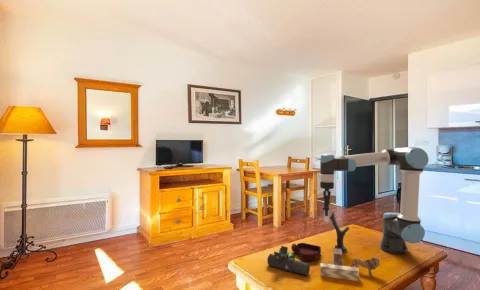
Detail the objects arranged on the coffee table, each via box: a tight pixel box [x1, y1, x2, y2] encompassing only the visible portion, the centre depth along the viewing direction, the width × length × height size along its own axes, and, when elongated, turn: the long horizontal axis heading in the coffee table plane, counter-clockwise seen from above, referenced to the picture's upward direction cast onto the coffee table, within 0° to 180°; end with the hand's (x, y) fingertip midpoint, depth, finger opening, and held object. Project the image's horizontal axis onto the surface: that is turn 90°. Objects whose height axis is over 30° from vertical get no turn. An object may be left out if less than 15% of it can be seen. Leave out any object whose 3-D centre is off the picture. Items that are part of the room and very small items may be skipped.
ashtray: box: [290, 242, 322, 263], centre depth 160 cm, size 18×16×5 cm
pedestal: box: [331, 247, 345, 266], centre depth 146 cm, size 6×9×8 cm, turn 163°
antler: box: [329, 211, 350, 254], centre depth 166 cm, size 12×8×25 cm
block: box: [320, 262, 360, 282], centre depth 135 cm, size 18×4×5 cm, turn 73°
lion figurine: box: [350, 256, 381, 277], centre depth 139 cm, size 15×5×9 cm, turn 62°
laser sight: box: [267, 245, 311, 276], centre depth 142 cm, size 10×22×10 cm, turn 57°
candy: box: [278, 247, 295, 259], centre depth 158 cm, size 12×3×4 cm
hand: (326, 218), depth 154 cm, fingers open, 13 cm apart
